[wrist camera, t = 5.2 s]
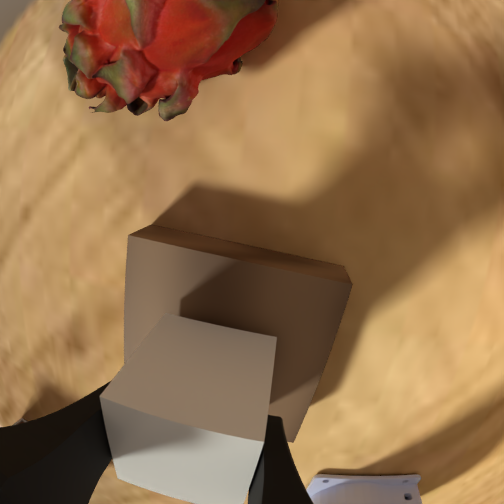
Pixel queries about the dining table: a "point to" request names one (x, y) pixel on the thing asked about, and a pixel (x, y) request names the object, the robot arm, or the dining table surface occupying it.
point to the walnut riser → (240, 303)
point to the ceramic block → (191, 410)
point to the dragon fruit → (158, 48)
